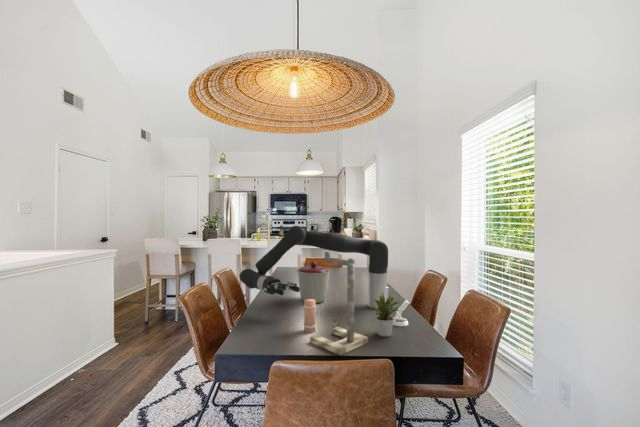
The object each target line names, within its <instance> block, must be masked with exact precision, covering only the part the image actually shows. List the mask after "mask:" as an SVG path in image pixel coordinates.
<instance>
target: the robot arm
mask: <svg viewBox="0 0 640 427" xmlns="http://www.w3.org/2000/svg"><path fill="white" fill-rule="evenodd" d="M294 246H306V247H307V246H309V247H315V248H319V249H322V250H326V251H327V250H328V251H329V252H335V253H346V254H347V253H350V254H351V253H357V254H360V255H361V254H363V255H365V256H369V264H368V287H367V288H368V291H367V292H368V295H367V296H368V297H367V299H368V303H367V304H368V305H367V306H368V307H369V306H374V307H375V308H376V309H377V310H379V308H378V306H377V305H376V304H377V303H376V302H375V301H374V299H373V298H372V297H374V298H375V299H376V300H379V293H380V294H381V296H382V291H383V294H384V298H385V302H386V300H387V298H388V297H389V287H388V268H389V267H388V266H389V248H388V245H387V244H386V243H385V242H384V241H381V240H379V239H364V238H363V239H362V238H357V237H354V236H351V235H347V234H343V233H342V234H341V233H336V232H314V231H309V230H305V229H304V227H303V228H302V226H299V225H293V226H292V227H290V228H289V229H288V231H286V232H285V234H284V235H283V237H282V238H281V239H280V240H279V241H278V242H277V243H276V244H275V246H273V247H272V248H271V249H270V250H269V251H268V252H267V253H266V254H264V256H262V257H261V258H260V259H259V260H258V261H257V262H256V263H255V264H254V265H255V268H256V270H257V271H256V270H253V269H251V268H245V269H243V270H242V271H241V272H240V274H239V281H240V282H241V283H243V284H244V285H245V286H246V287H248V289H251V290H252V289H257V290H259V291H261V292H264V293H266V294H269V295H280V296H284V295H285V294H284V293H285V292H287V293H288V292H290V291H292V292H295V293H300V287H299V286H298V284H297V283H293V282H290V281H287V282H282V281H281V280H280V279H279V278H278V277H275V276H271V275H268V274H267V273H268V272H269V271H271V269H272V268H273V267H274V266H275V265H276V264H277V263H278V262H279V261H280V260H281V259H282V257H283V256H284V255H285V254H286V253H288V251H289V250H290V249H292V248H293V247H294ZM266 274H267V275H266Z"/></svg>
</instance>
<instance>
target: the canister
mask: <svg viewBox="0 0 640 427" xmlns="http://www.w3.org/2000/svg"><path fill="white" fill-rule="evenodd" d="M309 264H310V265H305V266H301V267H299V268H298V269H297V270H296V272H297V278H298V285H299V286H298V287H300V291H299V295H300V296H299V297H300V299H301V300H302V301H303V302H304V300H306V299H314V300H315V304H319V303H323V302H324V301H325V300H326V298H327V294H328V287H329V276H330V272H331V269H329V268H328V267H326V266H323V265H321V266H319V265H318V263H317V261H311V262H310V263H309Z"/></svg>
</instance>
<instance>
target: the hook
mask: <svg viewBox="0 0 640 427" xmlns="http://www.w3.org/2000/svg"><path fill="white" fill-rule="evenodd" d="M409 304H410V302H409V301H408V300H407V299H406V300H404V302H402V303H401V305H400V306H399V307H401V308H399V307H398V310H400V311H395V312H396V313H397V315H396V314H395V313H394V314H395V315H394V316H395V317H393V318H394V320H393V326H395V327H407V326H409V321H408V319H407V318H405V317H403V316H402V313H403V312H404V311H405V310H406V308H407V307H408V306H409Z"/></svg>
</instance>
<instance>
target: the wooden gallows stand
mask: <svg viewBox="0 0 640 427" xmlns="http://www.w3.org/2000/svg"><path fill="white" fill-rule="evenodd" d="M324 263H327V264H334V265H338V266H346V267H347V268H346V269H347V273H346V274H347V282H346V284H347V286H346V288H347V289H346V291H347V292H346V293H347V294H346V296H347V298H346V300H347V301H346V302H347V303H346V306H347V307H346V310H347V311H346V329H345V328H344V327H340V326H337V327H334V328H333V329H332V334H333V335H335V336H339V337H341V338H342V339H339V340H336V341H333V340H331V339H328V338H326V337H323V336H320V335H318V334H314V335H311V336H310V337H309V342H310V344H313V345H315V346H318V347H320V348H322V349H324V348H325V350H326V351H330V352H332V353H334V354H336V355H337V356H342V355H344V354H346V353H349V352H350V351H351V352H352V350H355V349H358V348H359V347H362V346H364V345H366V344H368V343H369V337H368V336H366V335H363V334H360V333H357V332H355V259H354V258H352V257H351V258H348V259H341V258H334V257H331V251H324Z"/></svg>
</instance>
